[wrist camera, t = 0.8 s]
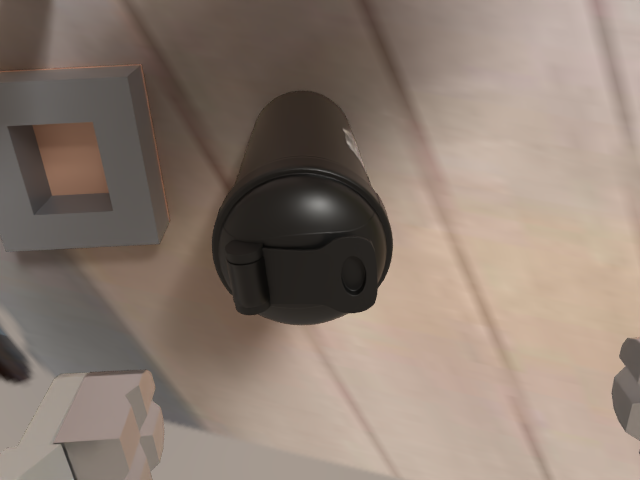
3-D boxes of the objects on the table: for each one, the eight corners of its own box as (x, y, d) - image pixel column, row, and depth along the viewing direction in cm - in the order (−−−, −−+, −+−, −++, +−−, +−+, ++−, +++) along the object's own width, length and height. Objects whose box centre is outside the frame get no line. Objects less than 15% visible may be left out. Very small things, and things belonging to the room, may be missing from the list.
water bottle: (364, 189, 53) (404, 351, 33) (251, 199, 53) (220, 367, 33) (358, 74, 48) (399, 182, 28) (234, 86, 48) (185, 201, 28)
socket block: (-21, 72, 47) (-51, 85, 43) (141, 64, 47) (127, 76, 43) (27, 227, 54) (5, 251, 50) (170, 220, 54) (159, 244, 50)
